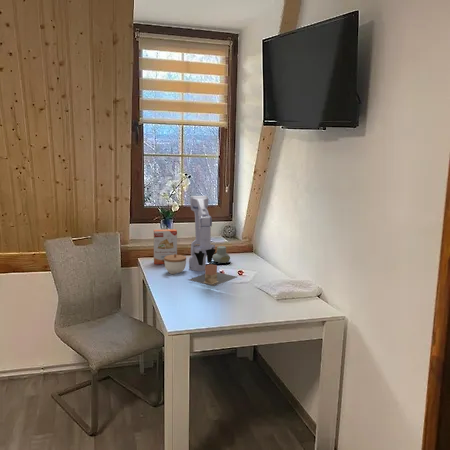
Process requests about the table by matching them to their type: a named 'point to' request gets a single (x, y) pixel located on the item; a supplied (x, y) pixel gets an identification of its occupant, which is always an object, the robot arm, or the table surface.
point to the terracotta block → (211, 269)
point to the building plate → (220, 279)
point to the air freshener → (221, 255)
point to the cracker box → (164, 244)
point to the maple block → (211, 278)
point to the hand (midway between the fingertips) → (205, 263)
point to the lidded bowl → (175, 263)
